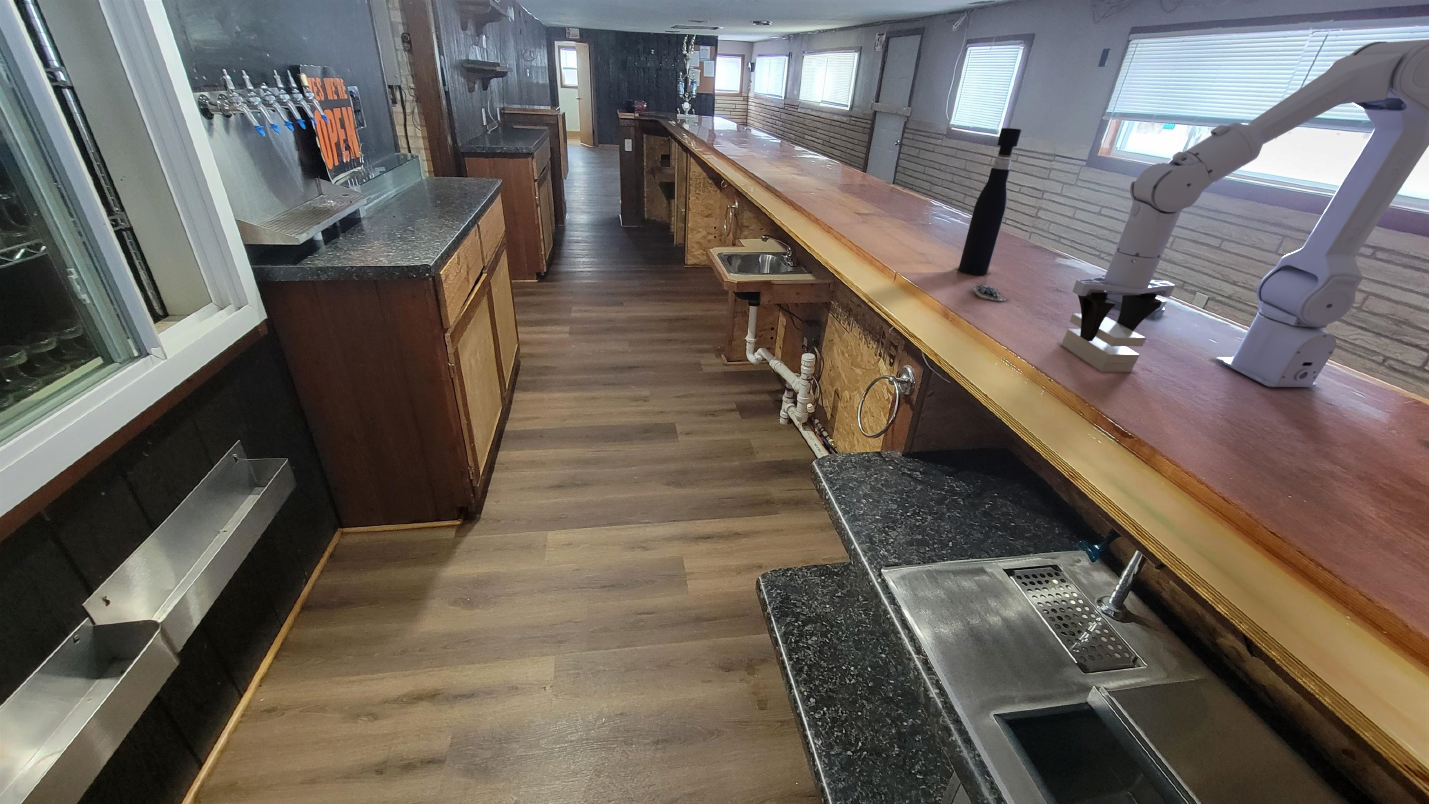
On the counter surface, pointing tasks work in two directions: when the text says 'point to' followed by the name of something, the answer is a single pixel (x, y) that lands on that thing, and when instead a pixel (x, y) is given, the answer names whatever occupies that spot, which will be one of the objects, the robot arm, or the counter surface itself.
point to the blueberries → (988, 293)
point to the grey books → (1154, 315)
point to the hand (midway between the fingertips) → (1102, 338)
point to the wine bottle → (989, 210)
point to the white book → (1113, 332)
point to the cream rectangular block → (1100, 352)
